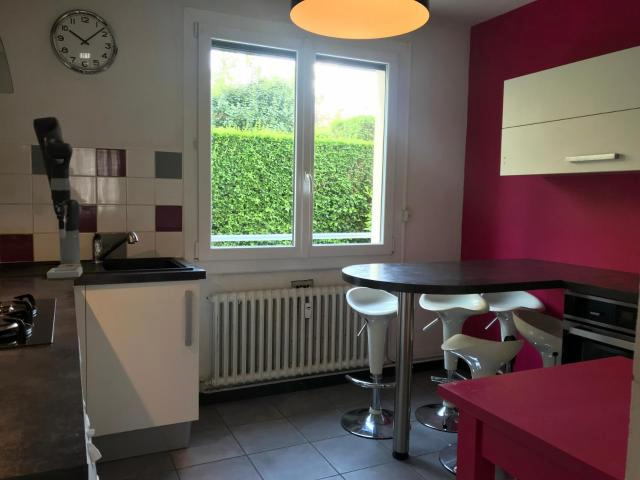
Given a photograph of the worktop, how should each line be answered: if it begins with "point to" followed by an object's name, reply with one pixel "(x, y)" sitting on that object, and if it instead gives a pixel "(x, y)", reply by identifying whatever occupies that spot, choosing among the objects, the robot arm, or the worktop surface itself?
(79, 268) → the tray
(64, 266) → the pin block
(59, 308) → the worktop surface
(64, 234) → the pin
